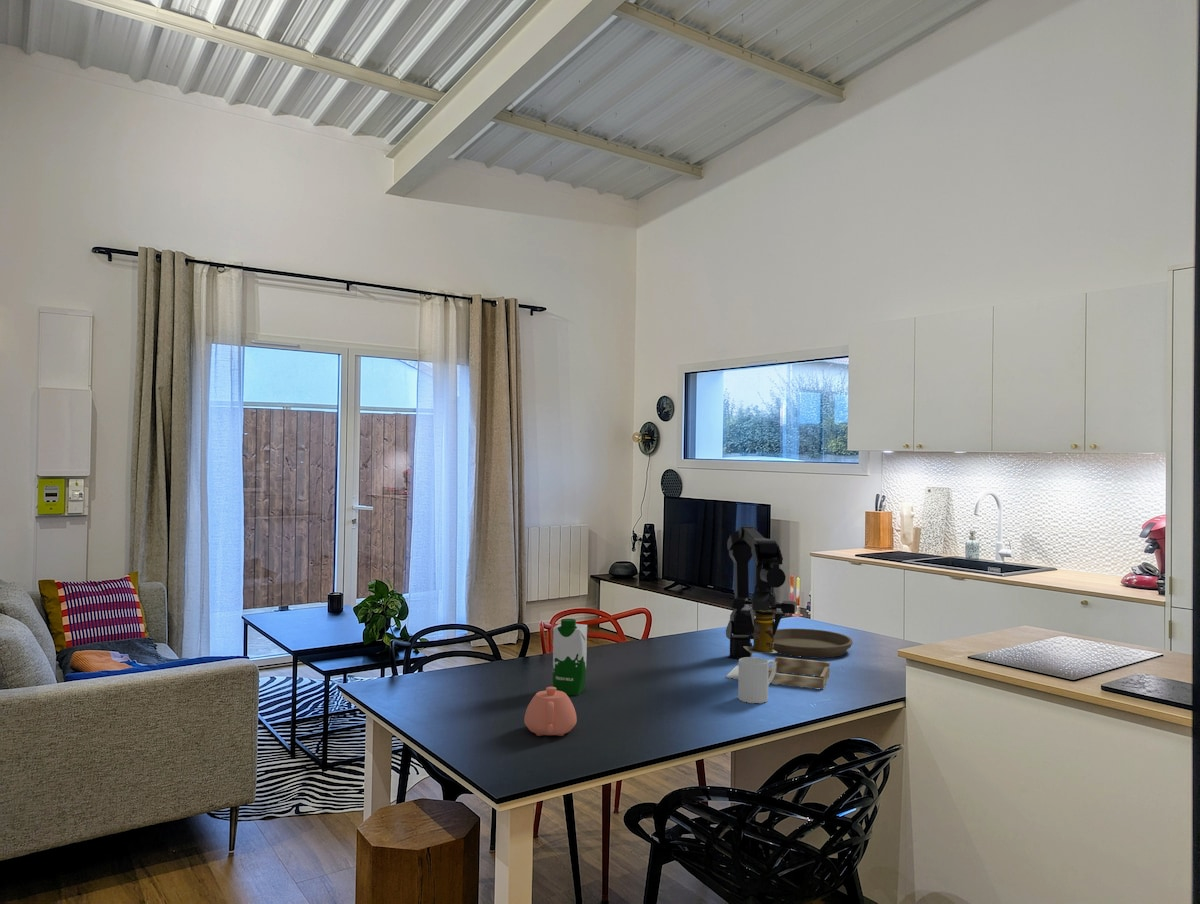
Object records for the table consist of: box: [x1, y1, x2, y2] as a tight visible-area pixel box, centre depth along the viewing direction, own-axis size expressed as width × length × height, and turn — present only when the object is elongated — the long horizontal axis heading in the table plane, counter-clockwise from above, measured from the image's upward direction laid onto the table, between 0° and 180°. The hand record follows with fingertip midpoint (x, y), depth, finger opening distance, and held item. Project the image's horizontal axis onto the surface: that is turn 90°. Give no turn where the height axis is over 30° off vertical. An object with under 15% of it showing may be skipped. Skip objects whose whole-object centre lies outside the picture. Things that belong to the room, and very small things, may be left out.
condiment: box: [743, 609, 779, 654], centre depth 245 cm, size 7×8×12 cm
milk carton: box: [552, 618, 588, 697], centre depth 224 cm, size 9×9×20 cm
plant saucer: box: [773, 627, 854, 658], centre depth 281 cm, size 31×31×5 cm
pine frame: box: [768, 656, 831, 690], centre depth 240 cm, size 16×15×4 cm
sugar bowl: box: [523, 686, 578, 737], centre depth 190 cm, size 12×14×10 cm
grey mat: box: [725, 665, 739, 680], centre depth 246 cm, size 10×14×1 cm
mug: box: [737, 656, 776, 704], centre depth 220 cm, size 12×8×10 cm, turn 125°
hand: (763, 633), depth 244 cm, fingers closed on condiment, 6 cm apart
